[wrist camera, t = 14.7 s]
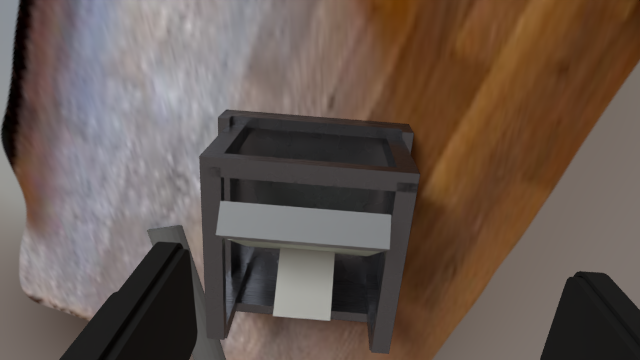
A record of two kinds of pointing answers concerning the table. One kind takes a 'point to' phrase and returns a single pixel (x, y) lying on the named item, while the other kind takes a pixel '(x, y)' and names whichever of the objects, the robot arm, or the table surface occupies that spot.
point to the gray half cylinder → (206, 350)
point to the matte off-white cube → (304, 284)
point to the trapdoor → (304, 228)
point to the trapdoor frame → (307, 192)
